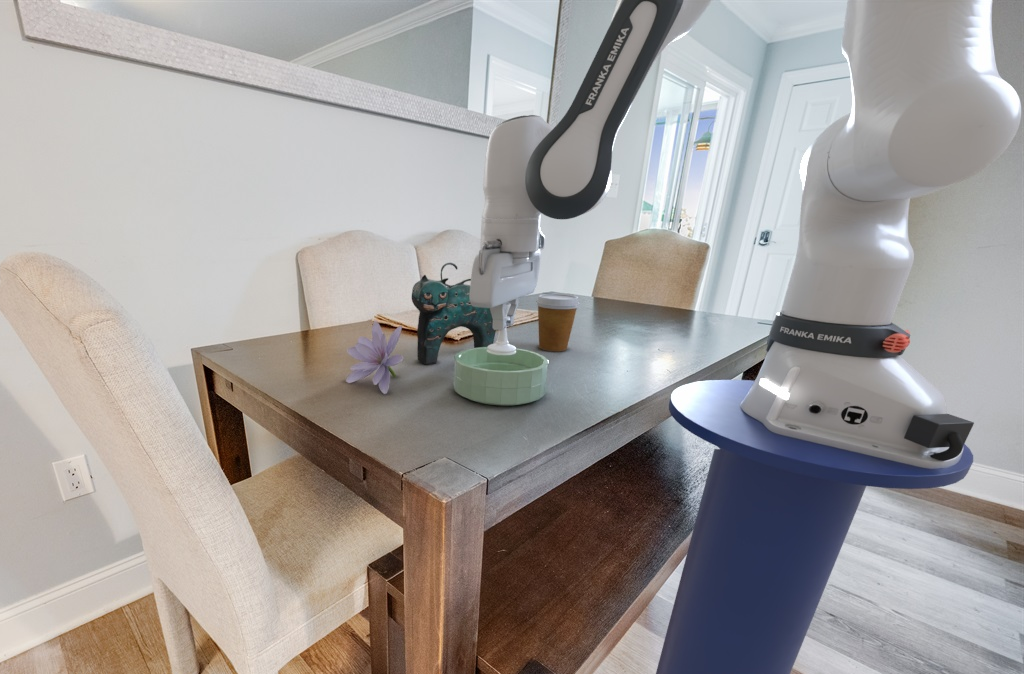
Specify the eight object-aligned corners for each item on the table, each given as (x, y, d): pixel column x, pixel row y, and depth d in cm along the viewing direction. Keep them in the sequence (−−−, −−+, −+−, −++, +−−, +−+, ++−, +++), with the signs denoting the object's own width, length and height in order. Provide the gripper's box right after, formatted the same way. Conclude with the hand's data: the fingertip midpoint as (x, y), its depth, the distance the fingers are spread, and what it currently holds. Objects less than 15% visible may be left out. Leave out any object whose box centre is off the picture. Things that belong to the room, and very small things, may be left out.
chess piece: (485, 347, 80) (488, 289, 76) (513, 348, 80) (518, 289, 76) (488, 355, 75) (491, 293, 72) (518, 355, 75) (523, 293, 72)
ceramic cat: (420, 367, 93) (421, 265, 86) (406, 359, 98) (405, 262, 91) (499, 355, 102) (505, 261, 95) (481, 348, 107) (486, 259, 100)
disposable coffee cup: (582, 349, 107) (589, 297, 103) (554, 355, 102) (560, 301, 98) (550, 341, 114) (556, 292, 110) (523, 346, 109) (527, 295, 105)
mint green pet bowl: (563, 394, 79) (567, 360, 77) (500, 416, 70) (503, 378, 68) (497, 372, 90) (499, 342, 88) (435, 388, 82) (436, 355, 79)
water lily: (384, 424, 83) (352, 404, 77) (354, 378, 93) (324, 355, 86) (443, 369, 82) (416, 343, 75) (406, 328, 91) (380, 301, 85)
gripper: (502, 241, 61) (496, 342, 66) (548, 238, 78) (540, 319, 83) (460, 240, 64) (457, 337, 69) (513, 237, 81) (507, 315, 86)
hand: (503, 327), depth 76 cm, fingers closed on chess piece
